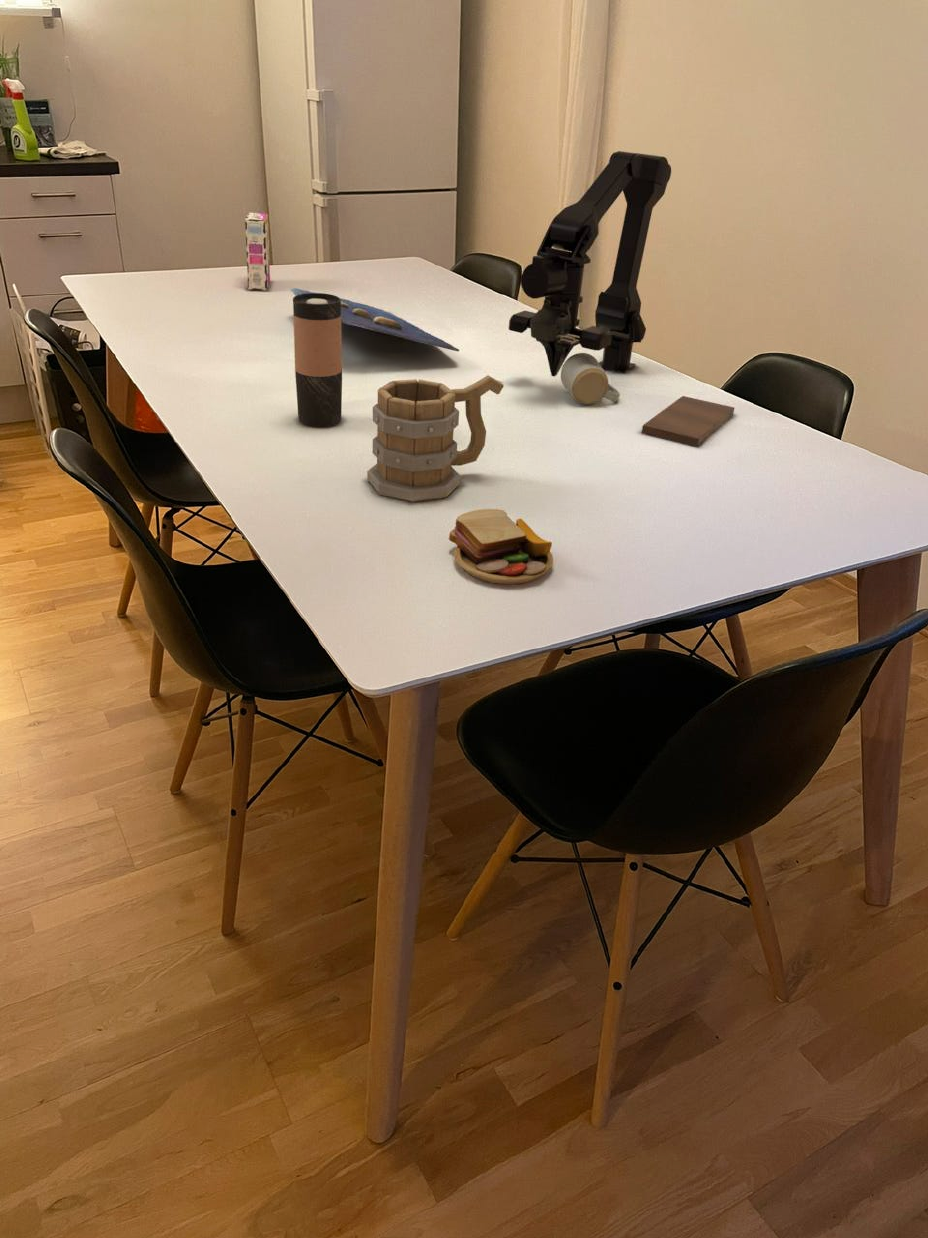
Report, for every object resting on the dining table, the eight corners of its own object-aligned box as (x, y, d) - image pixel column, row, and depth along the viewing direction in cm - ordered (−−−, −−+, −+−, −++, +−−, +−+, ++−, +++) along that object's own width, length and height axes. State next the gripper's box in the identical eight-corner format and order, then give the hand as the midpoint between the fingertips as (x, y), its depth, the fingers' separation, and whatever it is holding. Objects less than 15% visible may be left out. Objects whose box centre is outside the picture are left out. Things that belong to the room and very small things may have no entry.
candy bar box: (268, 291, 235) (265, 220, 226) (247, 290, 234) (243, 219, 225) (271, 281, 244) (268, 212, 235) (251, 280, 243) (247, 211, 235)
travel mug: (350, 416, 163) (349, 296, 152) (330, 431, 156) (328, 306, 146) (309, 409, 165) (306, 290, 154) (288, 423, 158) (283, 300, 148)
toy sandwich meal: (479, 594, 114) (481, 559, 111) (435, 545, 124) (436, 512, 121) (570, 578, 118) (574, 544, 116) (521, 532, 129) (524, 500, 126)
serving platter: (269, 327, 215) (280, 275, 211) (379, 353, 229) (391, 305, 225) (331, 374, 180) (345, 313, 176) (457, 402, 193) (473, 345, 189)
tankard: (387, 505, 133) (389, 401, 125) (359, 471, 143) (359, 372, 135) (515, 489, 141) (524, 390, 133) (480, 457, 150) (486, 363, 143)
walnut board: (681, 403, 179) (682, 395, 178) (733, 415, 175) (734, 407, 174) (641, 433, 164) (642, 424, 163) (697, 446, 160) (698, 438, 159)
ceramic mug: (570, 406, 173) (575, 365, 169) (557, 391, 180) (562, 351, 176) (624, 407, 176) (631, 366, 172) (610, 392, 182) (617, 352, 178)
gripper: (497, 287, 169) (489, 374, 178) (592, 308, 162) (579, 397, 170) (527, 278, 178) (518, 361, 186) (619, 297, 170) (605, 383, 178)
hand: (554, 375), depth 180 cm, fingers closed
